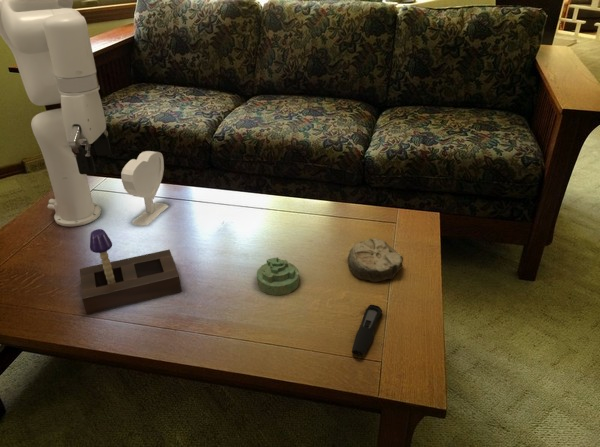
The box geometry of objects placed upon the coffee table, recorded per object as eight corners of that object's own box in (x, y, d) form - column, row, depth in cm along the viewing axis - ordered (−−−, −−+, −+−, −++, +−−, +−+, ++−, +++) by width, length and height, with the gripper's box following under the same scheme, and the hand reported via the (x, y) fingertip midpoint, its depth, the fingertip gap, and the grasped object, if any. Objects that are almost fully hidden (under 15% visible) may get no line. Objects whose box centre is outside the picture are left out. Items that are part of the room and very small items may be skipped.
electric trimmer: (346, 358, 103) (347, 347, 102) (366, 310, 116) (367, 299, 114) (364, 363, 102) (365, 352, 101) (383, 314, 115) (384, 303, 113)
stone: (385, 249, 137) (387, 231, 134) (409, 277, 126) (412, 259, 123) (339, 258, 133) (339, 240, 131) (360, 288, 122) (361, 270, 120)
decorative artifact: (290, 298, 119) (304, 274, 127) (290, 274, 115) (304, 250, 123) (250, 290, 122) (266, 266, 130) (249, 265, 118) (265, 242, 126)
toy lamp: (116, 299, 119) (102, 238, 110) (98, 297, 119) (82, 236, 111) (126, 287, 123) (113, 227, 114) (108, 284, 123) (94, 224, 115)
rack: (83, 283, 124) (79, 268, 121) (171, 264, 131) (169, 249, 128) (86, 314, 114) (82, 298, 112) (181, 291, 121) (179, 276, 119)
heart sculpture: (143, 228, 145) (133, 170, 136) (128, 225, 147) (116, 167, 137) (171, 203, 158) (164, 148, 149) (157, 200, 159) (148, 145, 150)
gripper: (75, 71, 108) (92, 148, 117) (39, 96, 93) (62, 181, 102) (111, 71, 108) (126, 148, 117) (81, 95, 93) (100, 181, 102)
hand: (96, 163), depth 110 cm, fingers open, 9 cm apart
